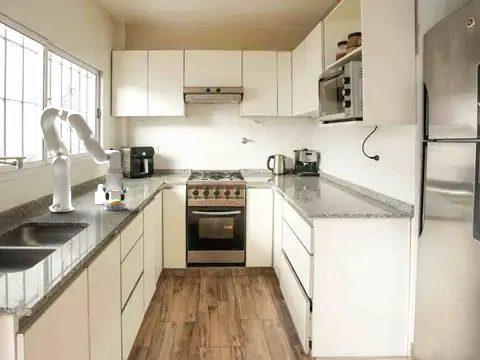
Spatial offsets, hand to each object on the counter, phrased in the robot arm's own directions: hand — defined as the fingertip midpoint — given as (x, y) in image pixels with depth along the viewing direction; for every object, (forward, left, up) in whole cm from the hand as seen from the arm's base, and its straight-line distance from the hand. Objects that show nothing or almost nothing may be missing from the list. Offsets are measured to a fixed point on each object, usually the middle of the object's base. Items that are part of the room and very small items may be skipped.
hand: (115, 200), depth 282 cm
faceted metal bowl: (0, 0, -5) cm, 5 cm away
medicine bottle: (+18, +18, -5) cm, 26 cm away
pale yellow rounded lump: (0, 0, -4) cm, 4 cm away
